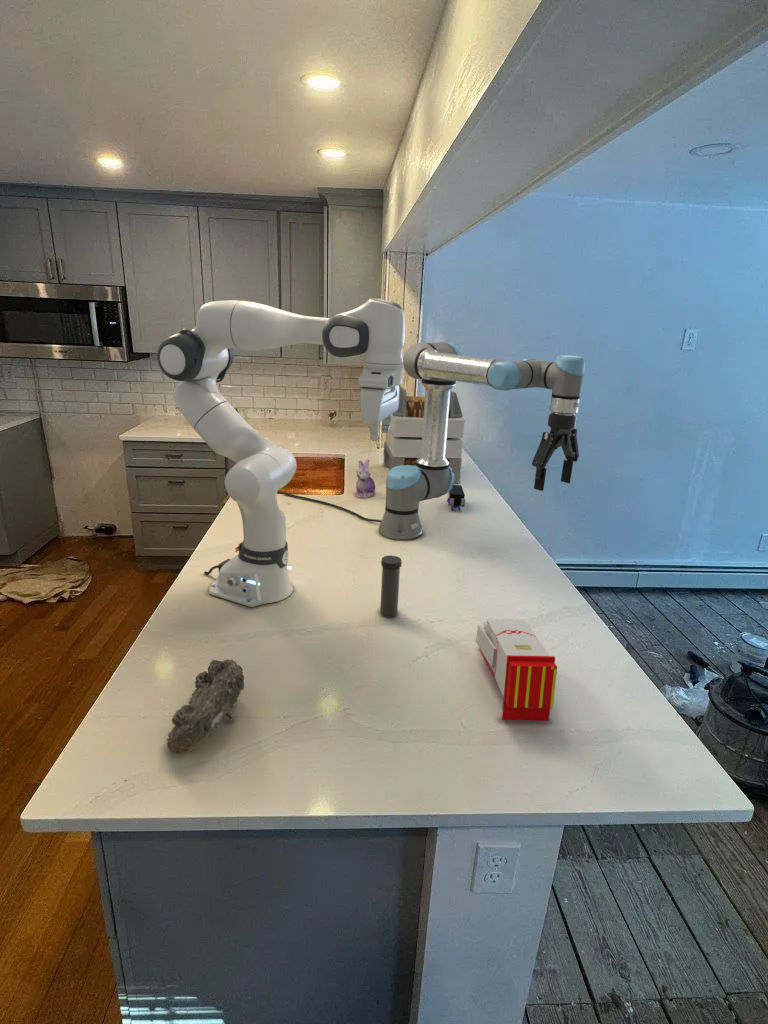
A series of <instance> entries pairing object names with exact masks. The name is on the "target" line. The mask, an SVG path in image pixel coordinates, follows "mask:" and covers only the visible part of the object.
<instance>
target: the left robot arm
mask: <svg viewBox="0 0 768 1024" xmlns="http://www.w3.org/2000/svg"><path fill="white" fill-rule="evenodd" d="M405 323H406V321H405V313H404V309H403V307H402V306H401V305H400V304H399V303H397V302H395V301H392V300H389V299H383V298H380V297H379V298H378V297H371V298H369V299H368V300H367V301H366V302H364V303H363V304H361V305H360V306H358V307H356V308H354V309H351V310H348V311H344V312H340V313H338V314H335V315H332V316H331V317H322V316H309V315H302V314H299V313H298V314H297V313H293V312H291V311H287V310H284V309H281V308H277V307H274V306H270V305H267V304H263V303H260V302H255V301H249V300H239V299H229V300H228V299H226V300H225V299H224V300H214V301H209V302H206V303H204V304H203V305H202V306H200V308H199V310H198V311H197V315H196V325H195V327H194V328H192V329H190V328H183V329H181V330H180V331H179V332H177V333H175V334H173V335H171V336H169V337H168V338H166V339H165V340H163V341H162V342H161V343H160V344H159V346H158V349H157V353H156V360H157V365H158V367H159V368H160V370H161V372H162V373H163V375H165V376H166V377H168V378H169V379H171V380H174V381H177V382H178V384H177V385H176V386H175V388H174V391H173V400H174V403H175V405H176V406H177V408H178V409H179V411H180V413H181V415H182V416H183V417H184V419H185V420H186V421H187V422H188V424H189V425H190V427H191V428H192V429H193V430H194V431H195V432H196V433H197V434H198V435H199V437H200V438H201V439H202V440H203V441H204V442H205V443H206V444H207V446H208V447H209V448H210V449H211V450H212V451H213V453H215V454H217V455H219V456H221V457H224V458H227V459H229V460H230V461H232V462H234V463H235V464H234V465H233V466H232V467H231V468H230V469H229V471H227V473H226V475H225V478H224V488H225V490H226V493H227V494H228V496H229V497H230V498H231V500H233V501H234V502H235V503H236V504H237V506H238V509H239V513H240V515H241V518H242V519H241V520H242V532H243V539H242V541H241V542H240V543H239V544H238V546H236V547H235V548H234V550H235V551H234V553H237V552H238V554H236V555H235V556H234V557H231V558H227V559H225V560H223V561H221V562H219V563H218V565H214V566H212V567H211V568H210V569H209V570H208V571H206V570H205V571H203V573H204V575H211V573H212V572H213V570H216V569H218V574H217V578H216V579H215V580H214V581H213V582H212V583H211V584H210V586H209V588H208V589H209V591H208V592H209V595H212V596H215V597H218V598H221V599H224V600H227V601H229V602H233V603H237V604H239V605H243V606H245V607H250V608H254V607H258V606H261V605H264V604H265V605H266V604H272V603H277V602H280V601H283V600H285V599H287V598H288V597H289V596H291V595H292V594H293V591H294V587H293V584H292V581H291V577H290V574H289V570H292V568H293V567H292V566H288V563H289V546H288V545H289V544H288V541H287V523H286V521H287V519H286V514H284V512H283V510H281V509H280V506H279V504H278V497H277V495H278V493H277V491H280V489H282V488H284V487H285V486H286V485H288V484H289V483H290V482H291V480H292V479H293V477H294V476H295V474H296V472H297V469H298V468H297V465H298V464H297V459H296V457H295V456H294V454H293V453H292V452H291V451H290V450H289V449H287V448H285V447H282V446H279V445H277V444H275V443H274V442H272V441H271V440H270V439H268V438H266V437H265V436H264V435H262V434H261V433H260V432H259V431H257V430H256V429H255V428H253V426H251V424H249V423H248V422H247V421H246V420H245V419H244V418H243V416H242V415H241V414H240V413H239V412H238V411H237V410H236V408H235V407H234V406H233V405H232V404H231V403H230V402H229V401H228V400H227V398H226V397H225V396H224V395H223V394H222V392H221V391H220V390H219V389H218V386H217V383H221V382H222V381H223V380H224V379H225V376H226V373H227V372H228V371H229V369H230V368H231V366H232V364H233V361H234V355H235V354H234V353H235V352H234V350H241V351H255V352H256V351H267V350H273V349H277V348H283V347H286V346H287V347H288V346H292V345H299V344H300V345H301V344H311V345H312V344H314V345H323V346H324V348H325V349H326V351H327V352H328V353H329V354H330V355H331V356H333V357H336V358H339V359H351V358H359V357H362V358H363V368H362V372H361V374H360V375H359V377H358V387H359V388H361V389H360V396H359V397H360V399H359V400H360V418H361V421H362V423H364V424H368V430H369V433H370V434H369V435H370V436H369V440H370V441H372V442H378V441H379V440H380V438H381V437H380V435H381V433H383V434H386V433H388V432H390V425H391V421H392V414H393V413H394V412H396V411H397V410H398V407H399V385H400V386H402V385H403V373H404V366H403V348H404V345H405V339H406V338H405V337H406V336H405V334H406V333H405V332H406V330H405V329H406V325H405ZM380 422H382V424H381V433H380Z"/></svg>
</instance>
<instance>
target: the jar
mask: <svg viewBox="0 0 768 1024" xmlns="http://www.w3.org/2000/svg"><path fill="white" fill-rule="evenodd" d="M400 572H401V567H400V568H398V569H394V570H390V569H385V568H383V567H382V566H381V587H380V588H381V589H380V606H379V607H380V608H379V610H380V611H379V612H380V615H382V616H384V617H386V618H393V617H395V616H397V614H398V608H399V593H400V592H399V590H400Z"/></svg>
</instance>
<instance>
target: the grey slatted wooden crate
mask: <svg viewBox="0 0 768 1024" xmlns="http://www.w3.org/2000/svg"><path fill="white" fill-rule="evenodd" d="M407 394H408V393H407V390H406V389H404V388H403V387H402V385H399V407H398V410H397V411H396V412H394V413H393V414H392V421H391V425H390V432H388V433H385V438H384V442H383V466H384V467H388V468H389V470H390V469H392V468H394V467H396V466H401V465H404V466H405V465H413V466H416V461H417V459H418V458H420V457H421V449H422V434H423V419H424V404H425V396H415V395H414V396H413V395H412V396H411V395H407ZM464 429H465V419H464V418H463V411H462V408H461V405H460V402H459V398H458V395H457V392H455V391H453V390H451V392H450V404H449V416H448V428H447V441H446V453H445V458H446V459H447V461H448V462H449V466H450V467H451V469H452V473H454V484H455V483H456V484H459V483H461V472H462V461H463V460H462V453H463V442H464V441H463V440H462V439H463V438H464V431H465V430H464Z"/></svg>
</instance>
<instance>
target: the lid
mask: <svg viewBox="0 0 768 1024" xmlns="http://www.w3.org/2000/svg"><path fill="white" fill-rule="evenodd" d="M380 565H381V568H382V567H383V568H385V569H390V570H394V569H398V568H400V569H401V567H402V558H401V557H400V556H396V555H385V556H382V557H381V560H380Z"/></svg>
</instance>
